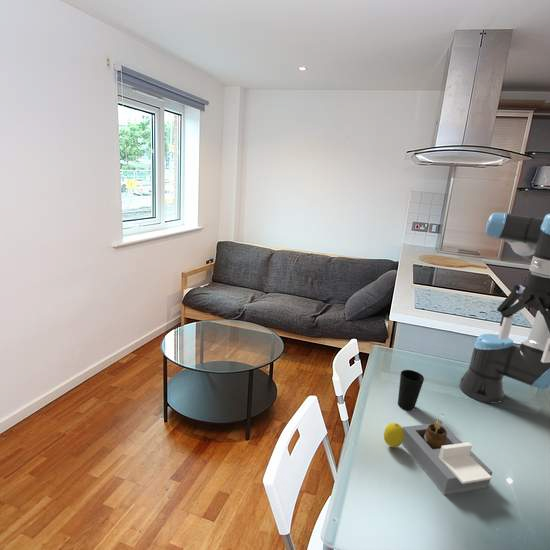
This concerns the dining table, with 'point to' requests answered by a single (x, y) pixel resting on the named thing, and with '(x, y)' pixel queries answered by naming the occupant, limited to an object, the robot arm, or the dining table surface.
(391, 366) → the dining table surface
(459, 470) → the panel
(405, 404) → the cup
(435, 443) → the utensil holder
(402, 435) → the lemon
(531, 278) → the robot arm
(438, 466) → the socket block
